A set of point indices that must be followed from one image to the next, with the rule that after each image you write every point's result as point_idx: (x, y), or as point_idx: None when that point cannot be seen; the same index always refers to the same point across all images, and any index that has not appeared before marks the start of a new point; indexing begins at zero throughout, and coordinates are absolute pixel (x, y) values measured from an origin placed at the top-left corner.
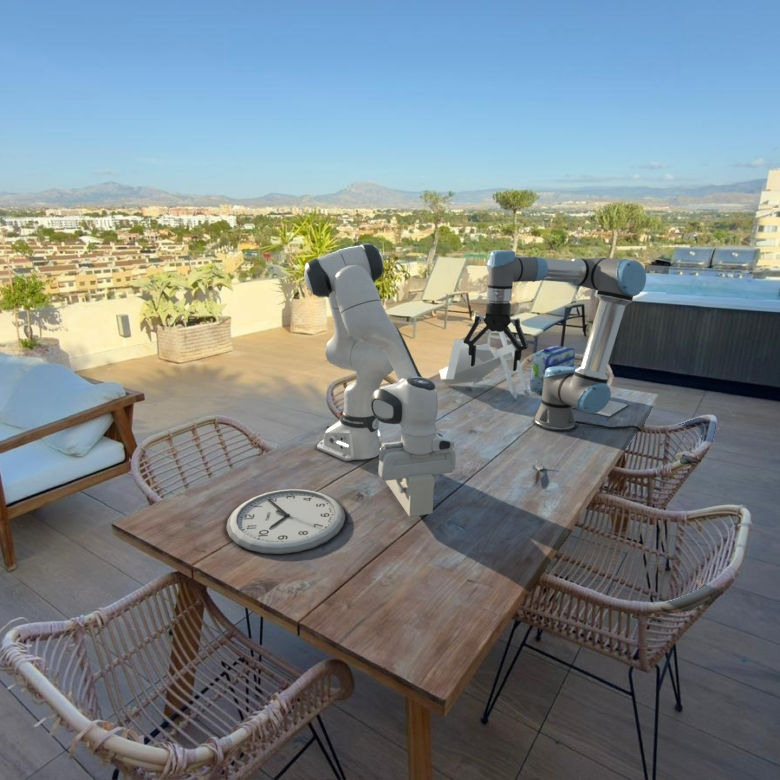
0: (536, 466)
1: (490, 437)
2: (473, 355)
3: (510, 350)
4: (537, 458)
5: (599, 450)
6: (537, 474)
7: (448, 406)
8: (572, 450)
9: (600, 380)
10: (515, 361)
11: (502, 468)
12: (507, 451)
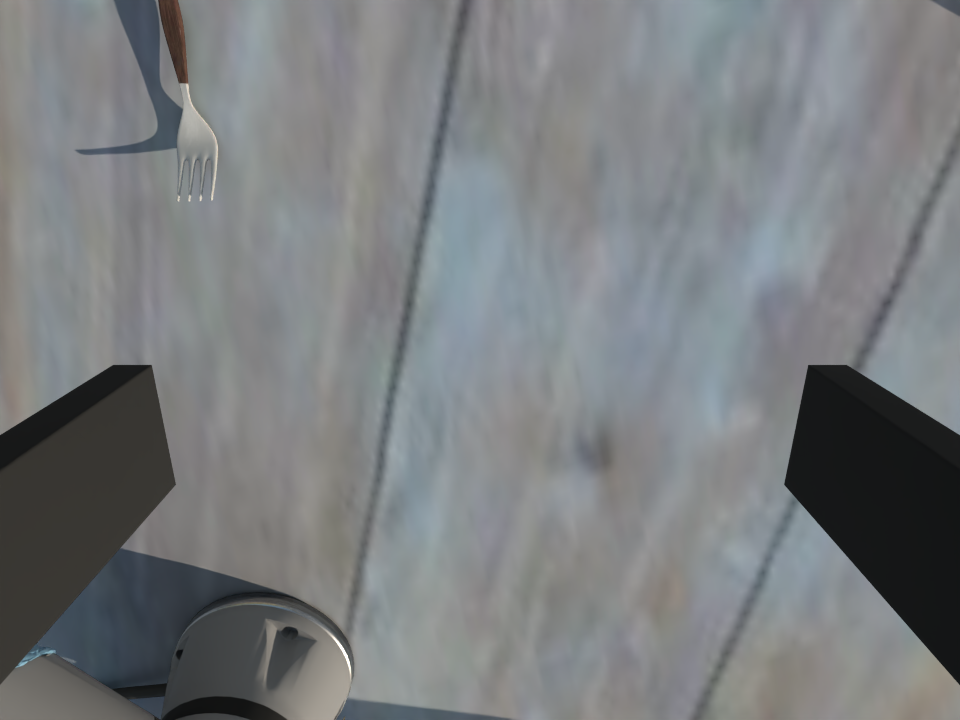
0: (211, 144)
1: (501, 417)
2: (948, 457)
3: None
4: (211, 193)
5: None
6: (172, 22)
7: (756, 687)
8: None
9: None
10: (6, 437)
11: (364, 61)
12: (389, 285)
